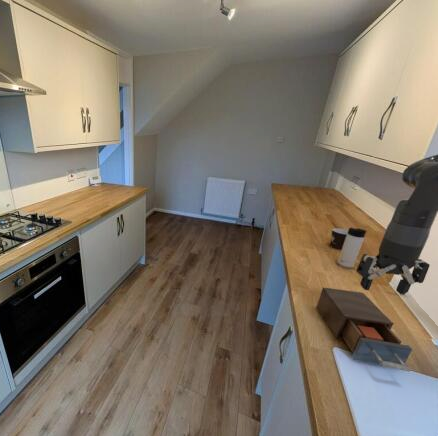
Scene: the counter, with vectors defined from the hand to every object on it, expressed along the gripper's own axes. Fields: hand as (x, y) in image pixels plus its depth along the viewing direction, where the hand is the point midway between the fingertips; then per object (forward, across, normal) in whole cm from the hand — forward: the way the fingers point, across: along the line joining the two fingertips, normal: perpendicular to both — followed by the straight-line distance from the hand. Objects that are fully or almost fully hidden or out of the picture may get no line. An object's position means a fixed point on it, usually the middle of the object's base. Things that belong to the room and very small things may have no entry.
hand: (382, 290), depth 67 cm
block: (+15, 0, 0) cm, 15 cm away
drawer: (+19, 0, -4) cm, 19 cm away
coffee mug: (+20, +26, +72) cm, 79 cm away
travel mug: (+20, +20, +51) cm, 59 cm away
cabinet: (+20, 0, +7) cm, 21 cm away
